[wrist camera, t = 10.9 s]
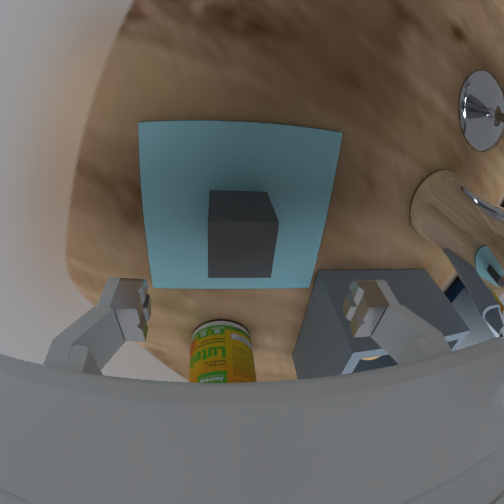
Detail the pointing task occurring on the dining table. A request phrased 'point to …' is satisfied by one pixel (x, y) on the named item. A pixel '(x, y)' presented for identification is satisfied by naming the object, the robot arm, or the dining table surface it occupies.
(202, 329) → the supplement bottle
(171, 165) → the lid
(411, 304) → the storage box
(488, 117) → the wine glass
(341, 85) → the dining table surface
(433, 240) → the beer glass
